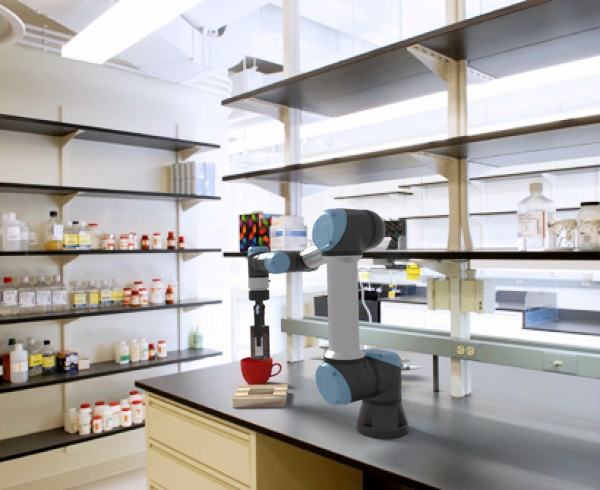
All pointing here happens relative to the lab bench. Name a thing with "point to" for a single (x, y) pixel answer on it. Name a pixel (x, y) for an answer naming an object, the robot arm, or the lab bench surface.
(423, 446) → the lab bench surface
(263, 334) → the box
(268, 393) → the shallow beige tray
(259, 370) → the ceramic cup
